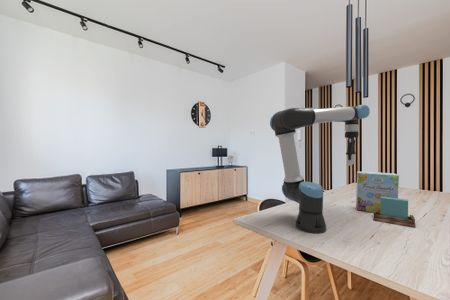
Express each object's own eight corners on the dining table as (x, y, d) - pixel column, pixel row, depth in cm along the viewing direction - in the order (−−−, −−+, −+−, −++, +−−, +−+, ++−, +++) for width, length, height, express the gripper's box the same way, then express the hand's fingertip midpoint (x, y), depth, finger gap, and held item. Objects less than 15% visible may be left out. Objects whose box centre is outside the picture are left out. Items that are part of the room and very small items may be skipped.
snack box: (356, 210, 136) (357, 172, 136) (355, 207, 144) (356, 171, 143) (398, 216, 126) (399, 174, 126) (394, 212, 134) (395, 173, 133)
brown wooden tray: (412, 221, 118) (412, 214, 118) (415, 227, 108) (415, 220, 108) (373, 214, 128) (373, 208, 128) (373, 220, 119) (373, 213, 119)
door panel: (407, 222, 113) (408, 201, 113) (380, 218, 120) (380, 197, 120) (406, 220, 116) (407, 199, 116) (380, 216, 123) (380, 196, 123)
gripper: (356, 130, 119) (356, 166, 119) (360, 132, 139) (359, 163, 139) (341, 130, 123) (341, 165, 124) (347, 132, 143) (346, 162, 144)
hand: (350, 164), depth 132 cm, fingers open, 13 cm apart
